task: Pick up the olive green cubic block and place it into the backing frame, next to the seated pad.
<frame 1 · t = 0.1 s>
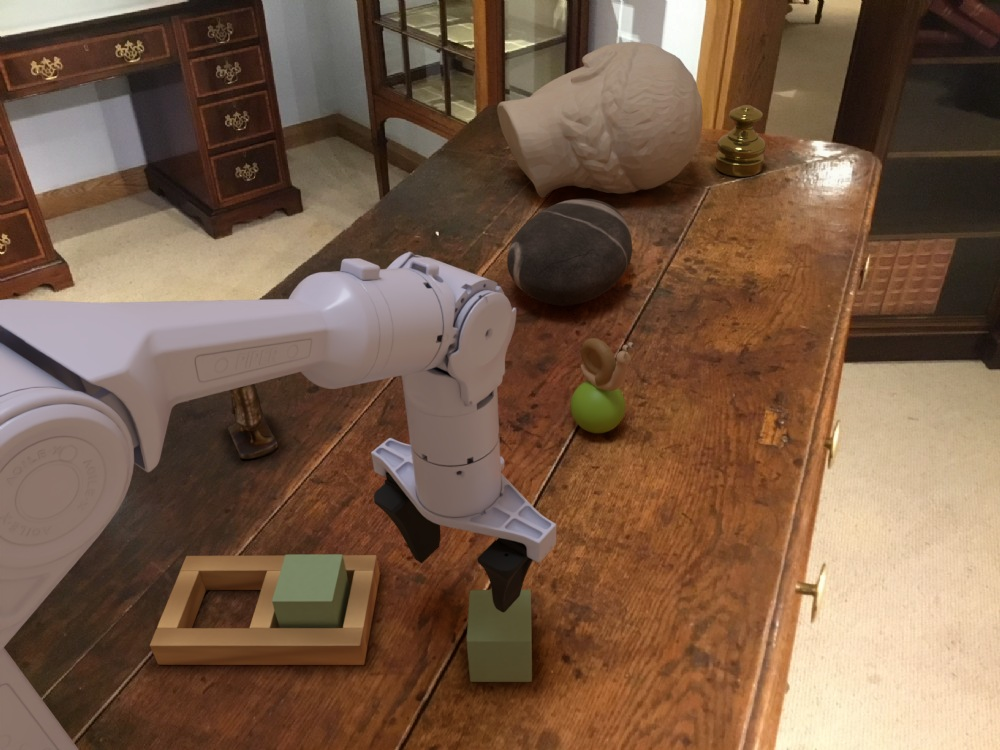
hand: (466, 576, 62), 7 cm above the sideboard, tool pointing down, fingers open, 7 cm apart
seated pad: (318, 617, 69), resting in backing frame
backing frame: (274, 617, 69), on the sideboard
snail figurine: (600, 430, 86), on the sideboard
olive green cubic block: (501, 655, 65), on the sideboard
decorative stone: (571, 286, 109), on the sideboard
bust: (595, 184, 133), on the sideboard
figurine: (256, 446, 86), on the sideboard
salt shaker: (738, 169, 136), on the sideboard
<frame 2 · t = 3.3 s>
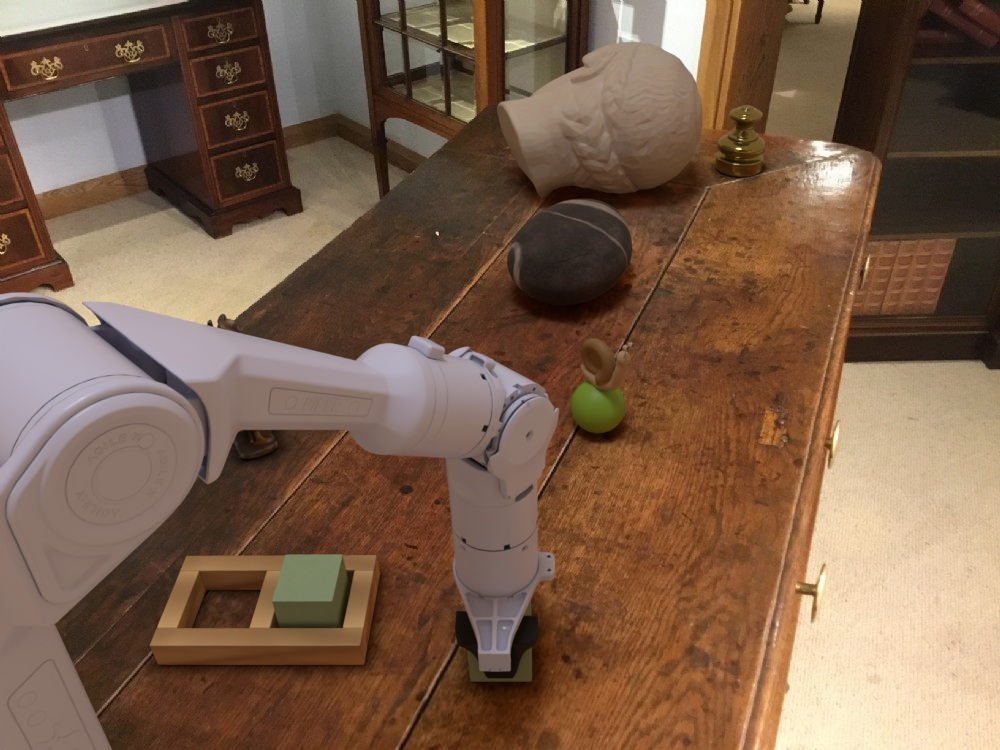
hand: (501, 644, 64), 1 cm above the sideboard, tool pointing down, fingers closed on olive green cubic block, 4 cm apart
olive green cubic block: (501, 655, 65), on the sideboard, touching gripper
everything else where it was.
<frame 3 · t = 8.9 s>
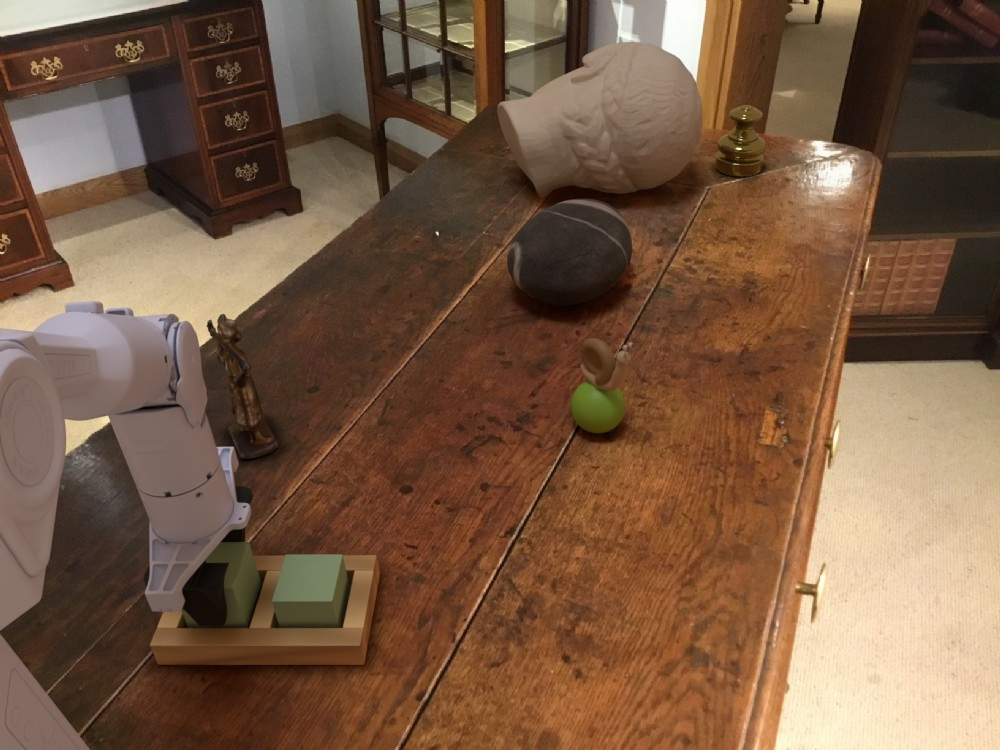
hand: (222, 595, 67), 3 cm above the sideboard, tool pointing down, fingers closed on olive green cubic block, 4 cm apart
olive green cubic block: (226, 606, 68), point 1 cm above the sideboard, touching gripper
everything else where it was.
when the fingers open (3 cm above the sideboard, at t = 10.8 s): olive green cubic block drops 1 cm, resting in backing frame.
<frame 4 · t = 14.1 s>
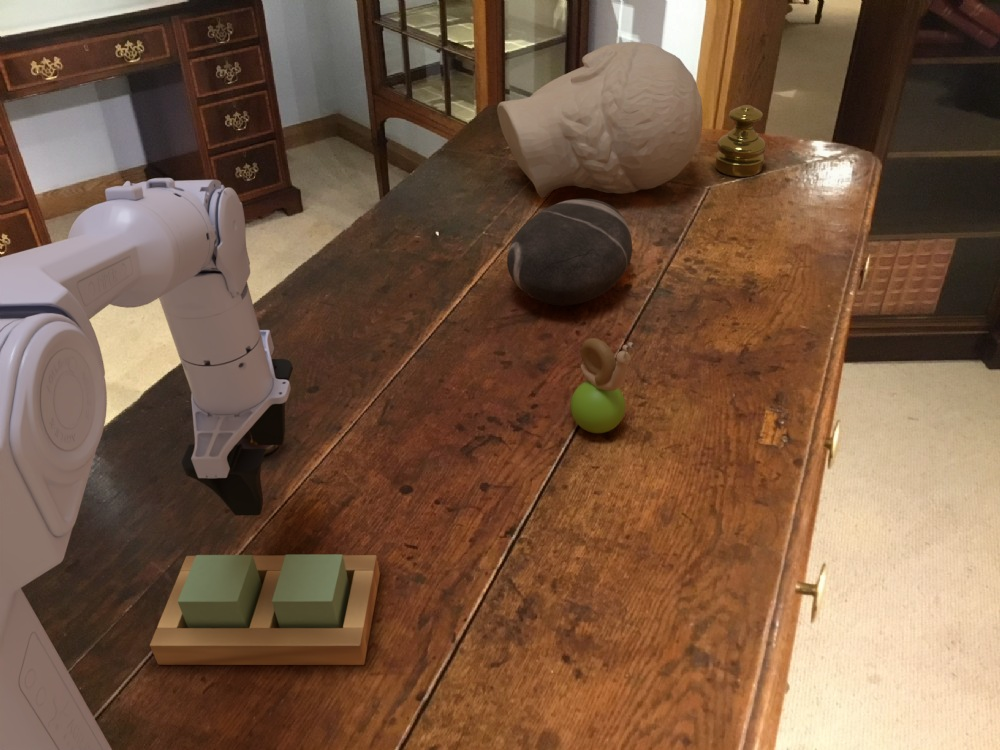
hand: (260, 475, 68), 9 cm above the sideboard, tool pointing down, fingers open, 7 cm apart
olive green cubic block: (230, 618, 69), resting in backing frame
everything else where it was.
at the end: olive green cubic block 0.0 cm from the target spot in the backing frame, point 0.0 cm above the backing frame's base; olive green cubic block 7.2 cm from the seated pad (horizontally); decorative stone moved 0.2 cm from its start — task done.
